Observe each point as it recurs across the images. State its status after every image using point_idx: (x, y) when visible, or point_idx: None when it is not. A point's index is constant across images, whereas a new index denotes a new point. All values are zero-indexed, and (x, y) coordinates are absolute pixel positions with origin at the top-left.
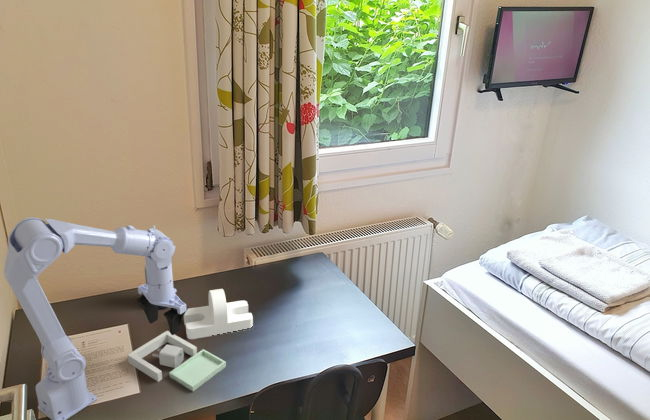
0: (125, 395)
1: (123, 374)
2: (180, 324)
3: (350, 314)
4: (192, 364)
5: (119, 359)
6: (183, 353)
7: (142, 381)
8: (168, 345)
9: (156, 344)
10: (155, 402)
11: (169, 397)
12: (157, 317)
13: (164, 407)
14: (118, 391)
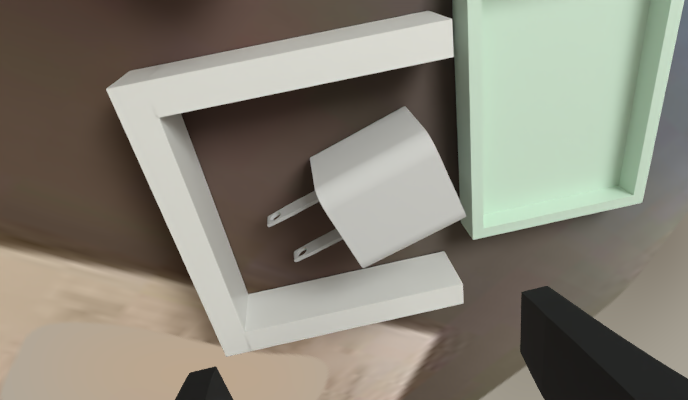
0: (411, 373)
1: (294, 350)
2: (622, 339)
3: None
4: (491, 97)
5: (179, 336)
6: (414, 117)
7: None
8: (342, 204)
9: (199, 192)
10: None
11: (554, 270)
12: (210, 391)
13: (575, 301)
14: (373, 383)
